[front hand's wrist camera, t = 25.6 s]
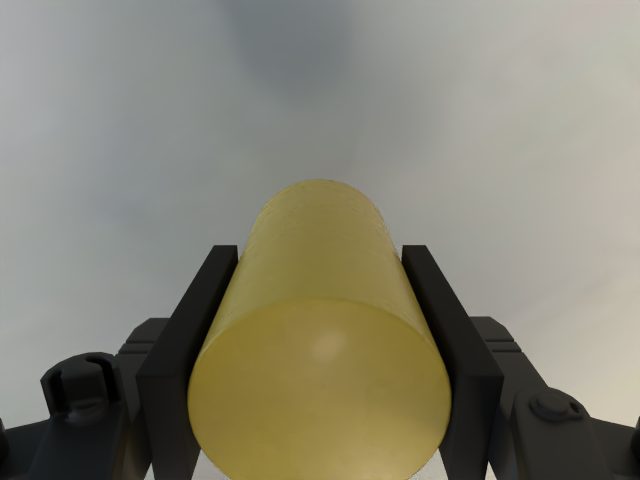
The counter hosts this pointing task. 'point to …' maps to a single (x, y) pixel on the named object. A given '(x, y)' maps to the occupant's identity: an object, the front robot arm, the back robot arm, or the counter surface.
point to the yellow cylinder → (319, 351)
